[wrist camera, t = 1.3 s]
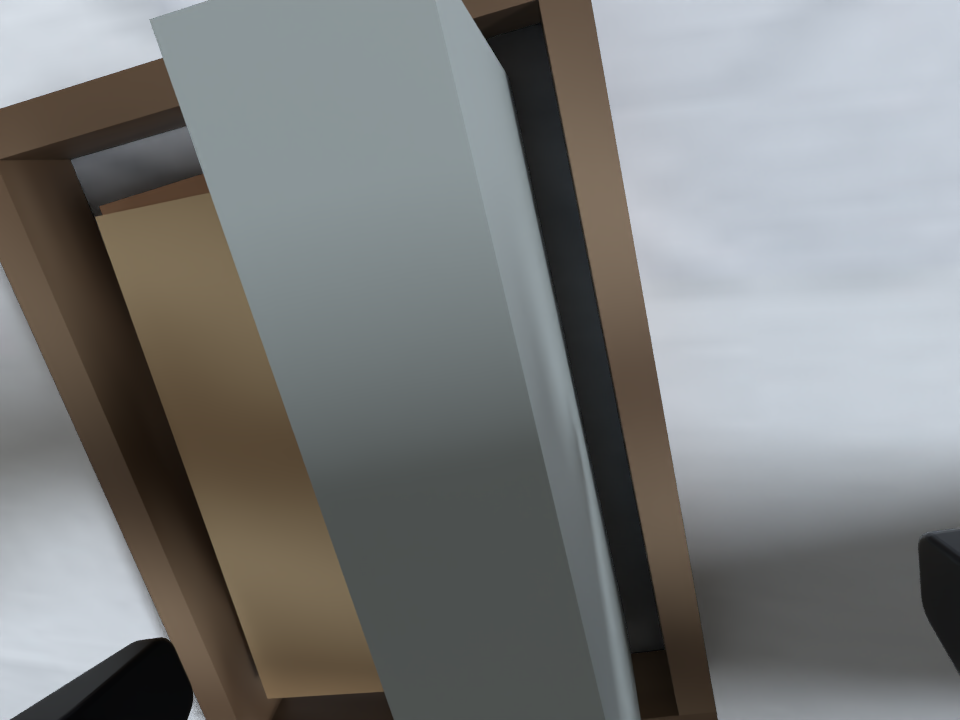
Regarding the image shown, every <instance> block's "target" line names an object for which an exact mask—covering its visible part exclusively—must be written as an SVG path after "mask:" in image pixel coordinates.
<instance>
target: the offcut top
mask: <svg viewBox="0 0 960 720" xmlns="http://www.w3.org/2000/svg"><path fill="white" fill-rule="evenodd" d="M95 218H96V221H97V224H98V227H99V229H100V232H101V235H102V238H103V241H104V243H105V246H106V249H107V252H108V255H109V257H110V260H111V263H112V266H113V269H114V271H115V274H116V277H117V280H118V283H119V285H120V288H121V291H122V294H123V296H124V299H125V302H126V305H127V308H128V310H129V313H130V316H131V319H132V322H133V324H134V327H135V330H136V333H137V336H138V338H139V341H140V344H141V347H142V350H143V352H144V355H145V358H146V361H147V363H148V366H149V369H150V372H151V375H152V377H153V380H154V383H155V386H156V389H157V391H158V394H159V397H160V400H161V403H162V405H163V408H164V411H165V414H166V417H167V419H168V422H169V425H170V428H171V430H172V433H173V436H174V439H175V442H176V444H177V447H178V450H179V453H180V456H181V458H182V461H183V464H184V467H185V470H186V472H187V475H188V478H189V481H190V484H191V486H192V489H193V492H194V495H195V497H196V500H197V503H198V506H199V509H200V511H201V514H202V517H203V520H204V523H205V525H206V528H207V531H208V534H209V537H210V539H211V542H212V545H213V548H214V551H215V553H216V556H217V559H218V562H219V564H220V567H221V570H222V573H223V576H224V578H225V581H226V584H227V587H228V590H229V592H230V595H231V598H232V601H233V604H234V606H235V609H236V612H237V615H238V617H239V620H240V623H241V626H242V629H243V631H244V634H245V637H246V640H247V643H248V645H249V648H250V651H251V654H252V657H253V659H254V662H255V665H256V668H257V671H258V673H259V676H260V679H261V682H262V684H263V687H264V690H265V693H266V696H267V698H268V699H272V698H288V697H304V696H320V695H337V694H353V693H369V692H384V690H383V687H382V684H381V682H380V679H379V676H378V673H377V670H376V667H375V664H374V662H373V659H372V656H371V653H370V650H369V647H368V644H367V641H366V639H365V636H364V633H363V630H362V627H361V624H360V621H359V619H358V616H357V613H356V610H355V607H354V604H353V601H352V598H351V596H350V593H349V590H348V587H347V584H346V581H345V578H344V576H343V573H342V570H341V567H340V564H339V561H338V558H337V555H336V553H335V550H334V547H333V544H332V541H331V538H330V535H329V533H328V530H327V527H326V524H325V521H324V518H323V515H322V512H321V510H320V507H319V504H318V501H317V498H316V495H315V492H314V490H313V487H312V484H311V481H310V478H309V475H308V472H307V469H306V467H305V464H304V461H303V458H302V455H301V452H300V449H299V447H298V444H297V441H296V438H295V435H294V432H293V429H292V426H291V424H290V421H289V418H288V415H287V412H286V409H285V406H284V404H283V401H282V398H281V395H280V392H279V389H278V386H277V383H276V381H275V378H274V375H273V372H272V369H271V366H270V363H269V361H268V358H267V355H266V352H265V349H264V346H263V343H262V340H261V338H260V335H259V332H258V329H257V326H256V323H255V320H254V318H253V315H252V312H251V309H250V306H249V303H248V300H247V297H246V295H245V292H244V289H243V286H242V283H241V280H240V277H239V275H238V272H237V269H236V266H235V263H234V260H233V257H232V254H231V252H230V249H229V246H228V243H227V240H226V237H225V234H224V232H223V229H222V226H221V223H220V220H219V217H218V214H217V211H216V209H215V206H214V203H213V200H212V197H211V194H210V193H206V194H201V195H196V196H191V197H187V198H182V199H177V200H172V201H168V202H163V203H158V204H153V205H149V206H144V207H139V208H134V209H130V210H125V211H120V212H115V213H111V214H106V215H101V216H96V217H95Z"/></svg>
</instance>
